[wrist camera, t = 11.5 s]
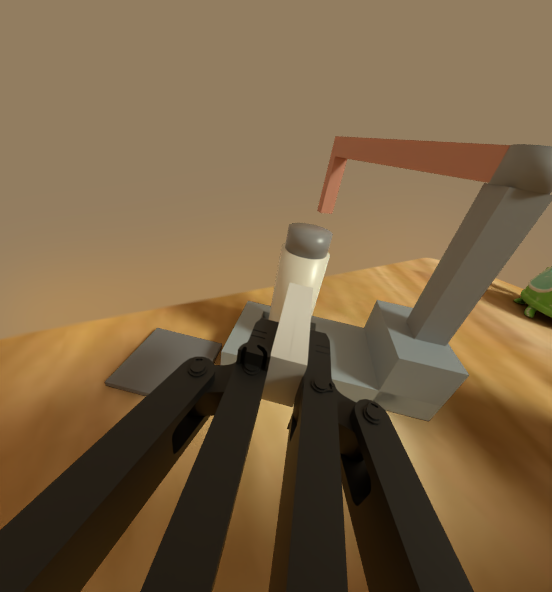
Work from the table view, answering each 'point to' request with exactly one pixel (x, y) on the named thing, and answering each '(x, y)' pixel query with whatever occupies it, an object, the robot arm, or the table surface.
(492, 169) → the pink bent bar
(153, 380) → the mat
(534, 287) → the turtle holder
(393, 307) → the dock
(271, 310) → the bottle
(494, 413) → the table surface
